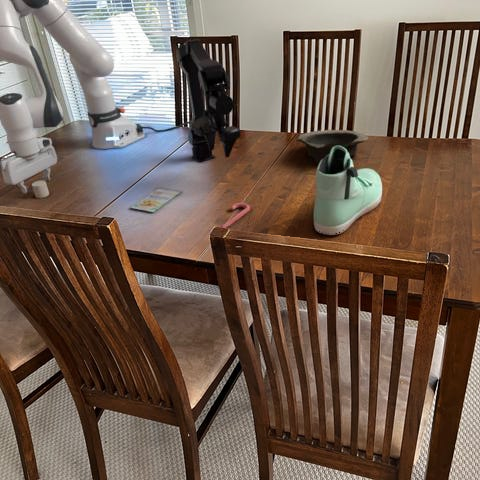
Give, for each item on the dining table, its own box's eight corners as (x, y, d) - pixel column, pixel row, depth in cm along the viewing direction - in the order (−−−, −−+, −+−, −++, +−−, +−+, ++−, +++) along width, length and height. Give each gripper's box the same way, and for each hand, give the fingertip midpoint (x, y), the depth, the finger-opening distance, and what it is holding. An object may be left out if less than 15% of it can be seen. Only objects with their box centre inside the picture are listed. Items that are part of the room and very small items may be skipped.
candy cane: (207, 226, 136) (206, 221, 135) (237, 204, 146) (237, 200, 145) (224, 231, 132) (223, 227, 132) (254, 208, 143) (253, 204, 142)
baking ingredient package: (130, 206, 148) (157, 187, 159) (130, 208, 148) (157, 189, 160) (153, 211, 144) (180, 191, 156) (153, 212, 145) (180, 192, 156)
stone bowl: (325, 174, 159) (324, 147, 155) (285, 157, 179) (283, 133, 175) (382, 156, 168) (383, 130, 164) (338, 142, 188) (338, 118, 184)
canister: (34, 198, 160) (30, 186, 158) (36, 193, 164) (32, 181, 161) (48, 196, 160) (44, 185, 158) (50, 191, 164) (46, 179, 162)
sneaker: (389, 187, 148) (396, 123, 138) (356, 242, 123) (361, 168, 112) (346, 181, 154) (350, 119, 144) (306, 232, 129) (307, 161, 118)
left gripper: (6, 159, 144) (19, 200, 151) (54, 137, 160) (64, 175, 167) (-9, 157, 146) (5, 198, 153) (40, 135, 162) (51, 173, 169)
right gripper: (178, 106, 153) (184, 152, 161) (209, 118, 140) (214, 168, 148) (207, 99, 159) (212, 144, 167) (240, 110, 145) (243, 158, 153)
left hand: (36, 186), depth 160 cm, fingers open, 8 cm apart
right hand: (219, 153), depth 159 cm, fingers open, 9 cm apart
